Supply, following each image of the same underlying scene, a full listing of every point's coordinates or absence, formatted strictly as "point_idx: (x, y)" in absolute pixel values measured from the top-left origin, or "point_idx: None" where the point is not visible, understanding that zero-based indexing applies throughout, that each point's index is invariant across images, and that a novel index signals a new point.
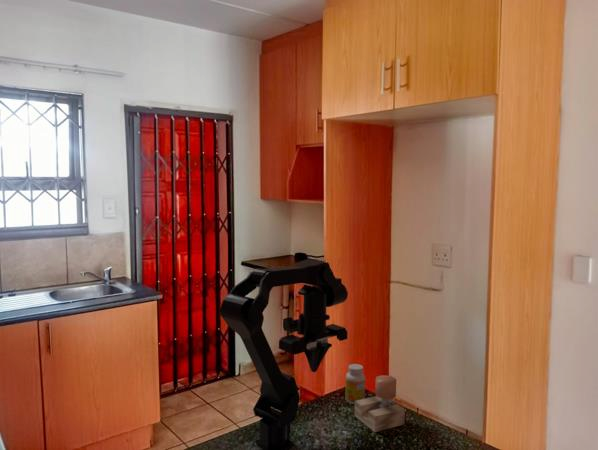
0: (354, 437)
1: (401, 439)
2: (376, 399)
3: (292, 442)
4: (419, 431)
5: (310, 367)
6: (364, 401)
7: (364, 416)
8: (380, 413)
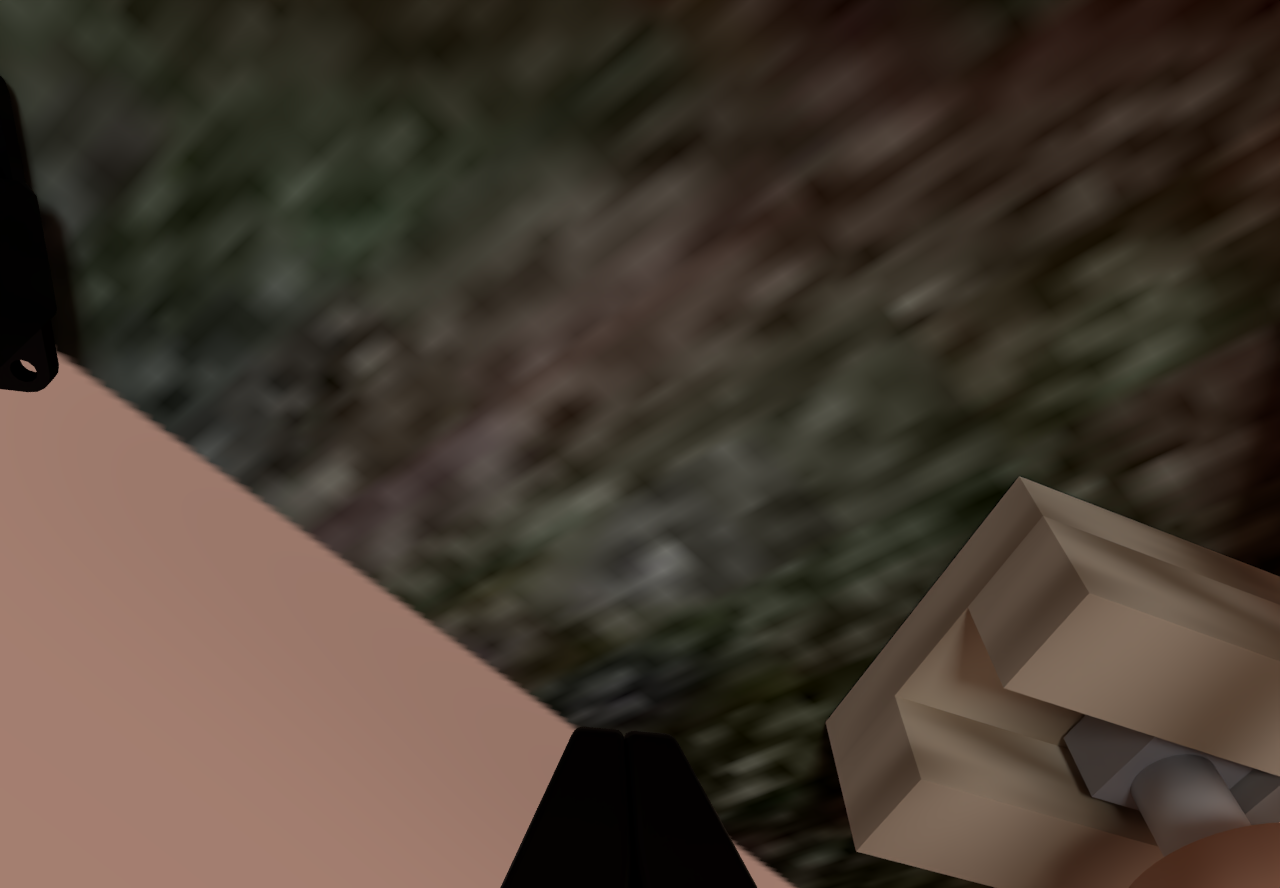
0: (637, 659)
1: (848, 859)
2: (1248, 717)
3: (37, 377)
4: None
5: (530, 832)
6: (1129, 666)
7: (959, 640)
8: (940, 855)
